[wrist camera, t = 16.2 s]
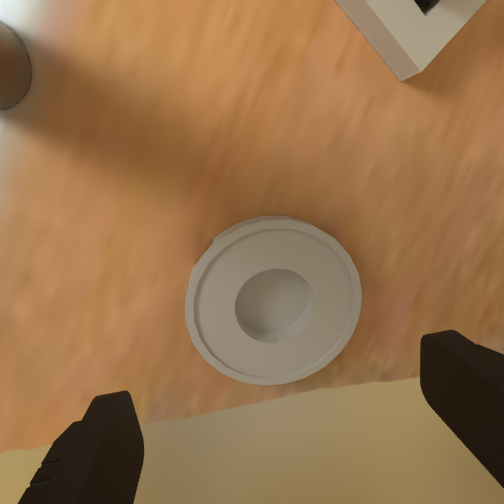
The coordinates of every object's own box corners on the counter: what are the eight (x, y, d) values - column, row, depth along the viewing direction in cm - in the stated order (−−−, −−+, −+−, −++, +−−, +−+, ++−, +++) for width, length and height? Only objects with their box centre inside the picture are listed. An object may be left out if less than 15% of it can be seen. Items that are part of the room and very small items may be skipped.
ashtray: (172, 227, 40) (168, 233, 36) (347, 203, 42) (360, 207, 38) (201, 379, 47) (200, 398, 43) (352, 353, 48) (363, 369, 44)
